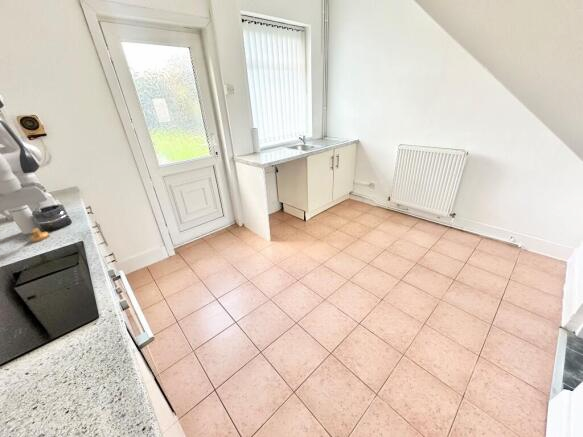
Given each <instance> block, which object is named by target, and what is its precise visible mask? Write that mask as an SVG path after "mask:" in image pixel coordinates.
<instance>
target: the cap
mask: <svg viewBox="0 0 583 437" xmlns="http://www.w3.org/2000/svg"><path fill="white" fill-rule="evenodd" d="M31 234H32V235H31V236H29V238H28V239H29V240H30V241H31V243H39V242H41V241H42V242H43V241H44V240H47V239H48V238H50V234H49V232H44V231H41V229H39V228H35V229H33V231H32V233H31Z"/></svg>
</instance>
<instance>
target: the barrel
mask: <svg viewBox="0 0 583 437" xmlns="http://www.w3.org/2000/svg"><path fill="white" fill-rule="evenodd" d="M40 210H41V212H38V213H36V211H34V212H32V215H33V217H34V218H35V219H36V220H37V223H38V224H39V225H40V227H41V230H42V232H48V233H49V232H54V231H58V230H61V229H63V228H64V229H65V228H67V227H68V226H70V225H71V224H72V223H73V221H72V219H71V218H70V216H69V214H68V212H67V211H66V208H65V206H64V204H62V203H61V204H58V205H51V206H47V207H43V208H40Z"/></svg>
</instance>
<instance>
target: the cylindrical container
mask: <svg viewBox="0 0 583 437" xmlns="http://www.w3.org/2000/svg"><path fill="white" fill-rule="evenodd" d="M7 212H8V214H12V216H13V217H14V218H12V219H13V221H14V222H15V224H16V226H17V227H18V228H19V230H20V231H21V232H22V234H23V235H27V234H29V233H30V234H33V233H32V231H33V229H35V228H39V229H40V230H42V228H41V227H40V225H39V224H38V223H37V220H36V219H35V218H34V217H33V215H32V212H31V210H30V209H29V207H28V206H27V205H25V206H21V207H16V208H11V209H7ZM30 234H29V235H30Z"/></svg>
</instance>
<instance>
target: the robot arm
mask: <svg viewBox="0 0 583 437" xmlns="http://www.w3.org/2000/svg"><path fill="white" fill-rule="evenodd" d="M4 103H5V100H4V98H3V96H2V95H1V93H0V109H2V108H4V106H5V104H4ZM0 145H2V146H3V147H0V215H2V216H5V217H6V218H7V220H12V219H13V218H14V217H13V216H12V214H9V213H7V212H6V210H7V209H11V208H16V207H21V206H25V205H27V206H28V207H29V209H30V210H31V212H34V211H36V213H38V212H41V210H40V208H43V207H47V206H51V205H58V204H61V205H62V203H61V202H60V200H59V199H55V198H54V197H53V196H52V194H50V193H49V192H47V189H46V188H45V187H44V185H42V183H41V181H40V180H39V178H38V177H37V175H36V174H35V173H36V172H37V171H38V169H39V168H40V162H41V161H42V159H43V154H42V152H41V150H40V149H39V148H38V147H37V146H35V145H32V144H30V143H27V142H24V141H23V140H21V139H20V138H19V137H18V136H17V134H16V133H15V132H14V130H12V128H11V127H10V126H9V125H8V124H7V123H6V122H5V121H3V119H2V117H1V116H0Z"/></svg>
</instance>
